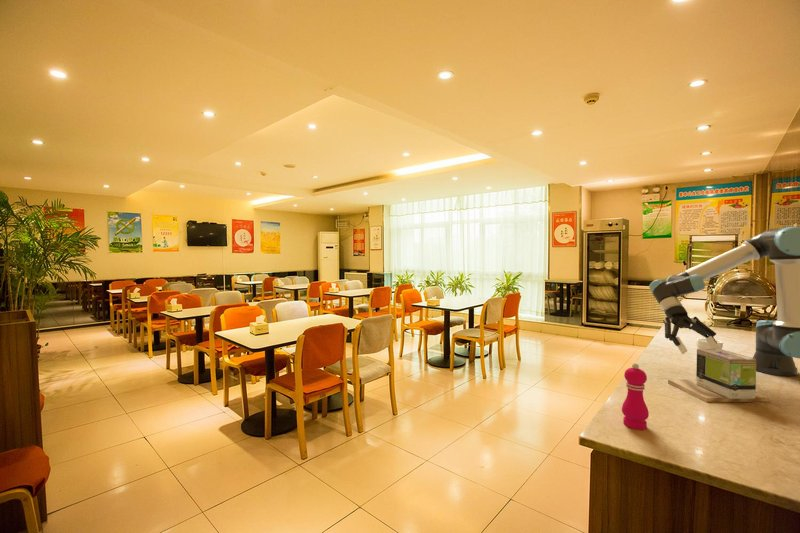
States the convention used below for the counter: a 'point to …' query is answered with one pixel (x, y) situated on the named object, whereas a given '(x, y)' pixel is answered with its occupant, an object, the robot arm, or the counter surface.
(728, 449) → the counter surface
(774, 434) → the counter surface
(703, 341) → the foam cup
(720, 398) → the oak board
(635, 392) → the pepper mill
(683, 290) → the robot arm
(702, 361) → the tea box
